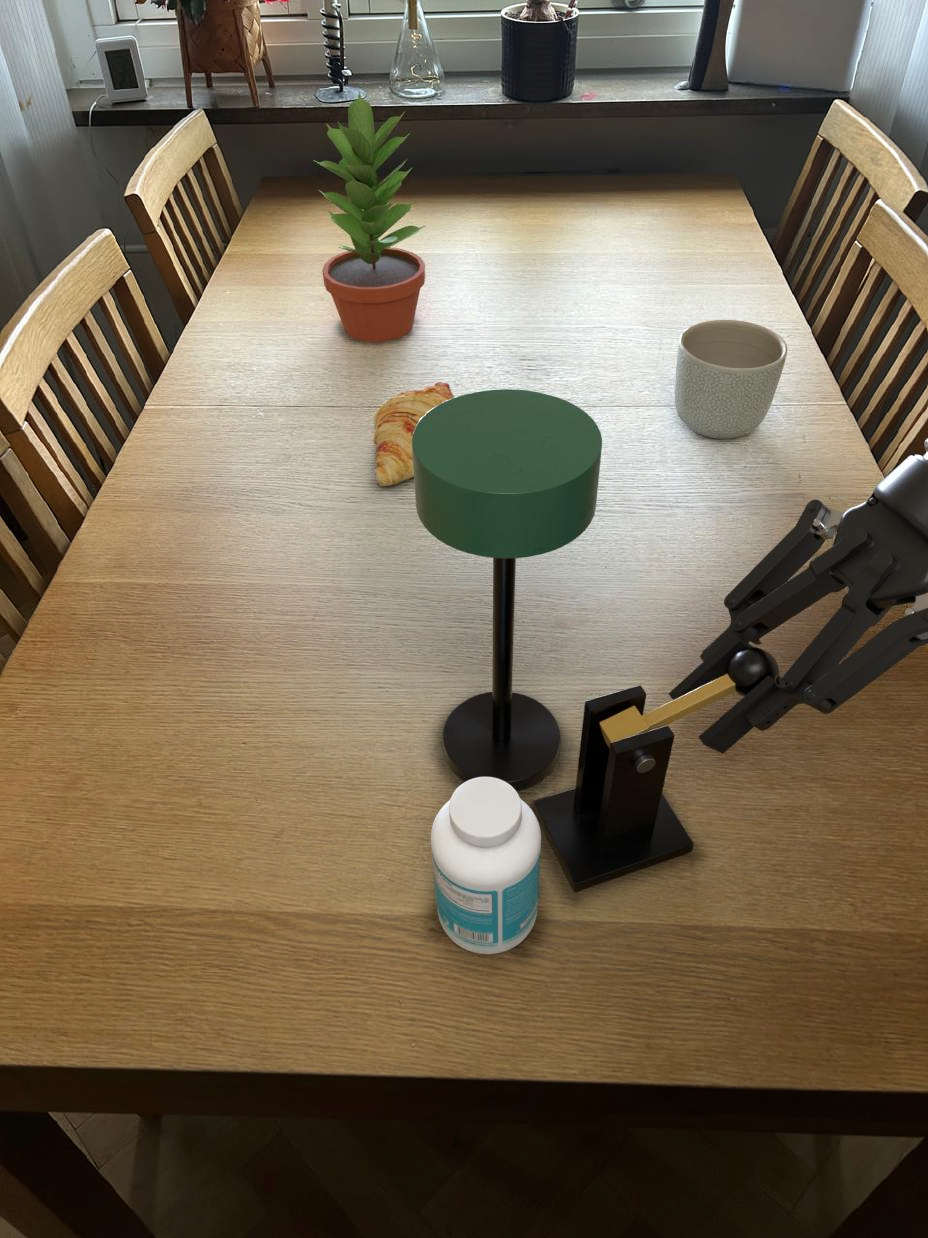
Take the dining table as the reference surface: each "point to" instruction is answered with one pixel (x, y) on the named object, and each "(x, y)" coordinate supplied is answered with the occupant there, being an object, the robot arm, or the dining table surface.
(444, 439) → the desk lamp
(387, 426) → the croissant
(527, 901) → the pill bottle
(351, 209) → the potted plant
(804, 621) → the dining table surface
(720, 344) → the planter
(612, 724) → the lamp switch
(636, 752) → the switch bracket
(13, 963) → the dining table surface
